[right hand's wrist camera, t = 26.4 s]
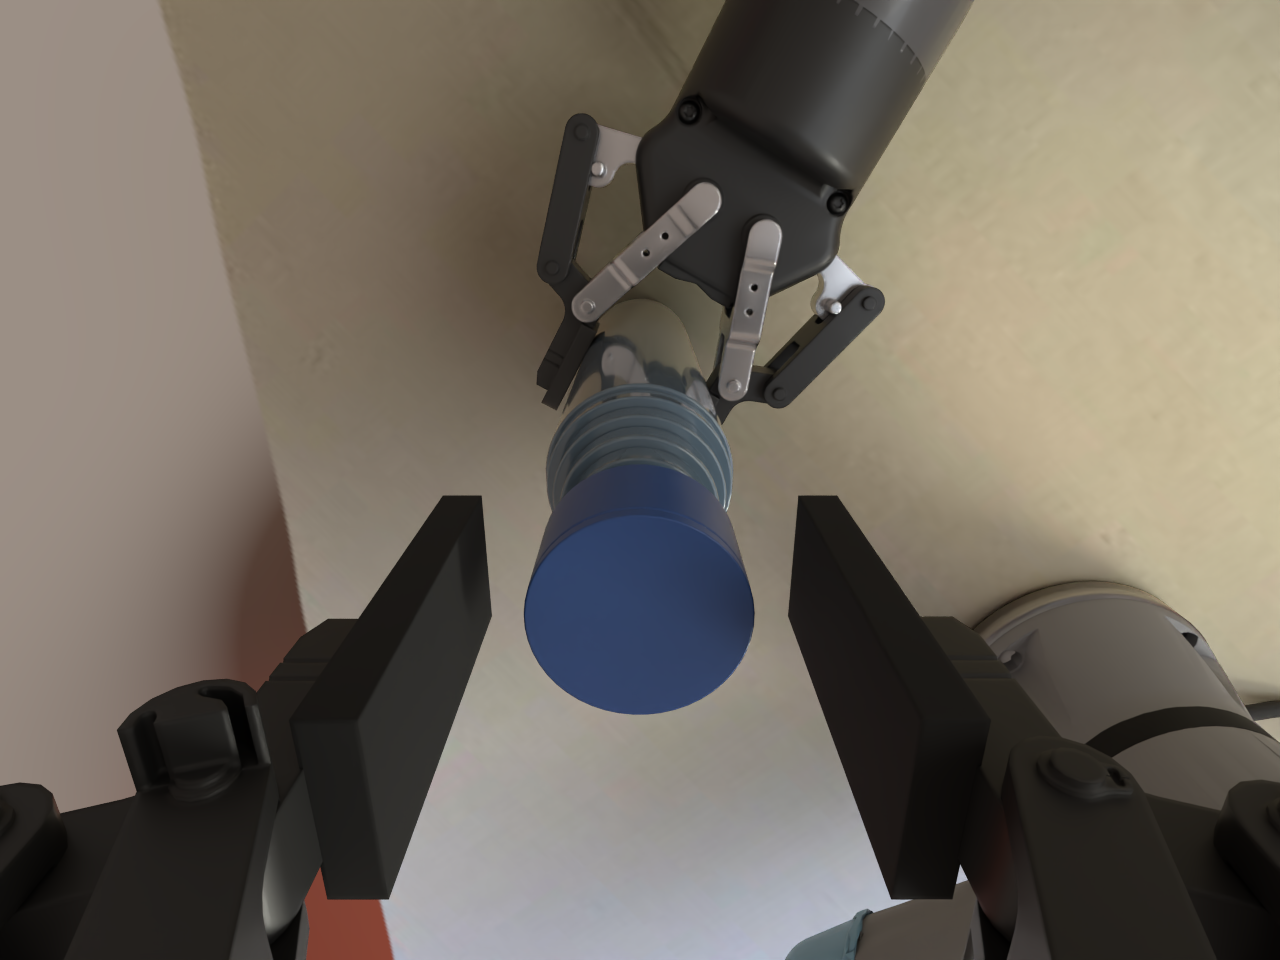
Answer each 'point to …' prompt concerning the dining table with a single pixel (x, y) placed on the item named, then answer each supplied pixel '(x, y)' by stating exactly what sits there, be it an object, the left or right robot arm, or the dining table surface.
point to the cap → (639, 592)
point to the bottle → (639, 406)
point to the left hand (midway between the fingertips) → (611, 431)
